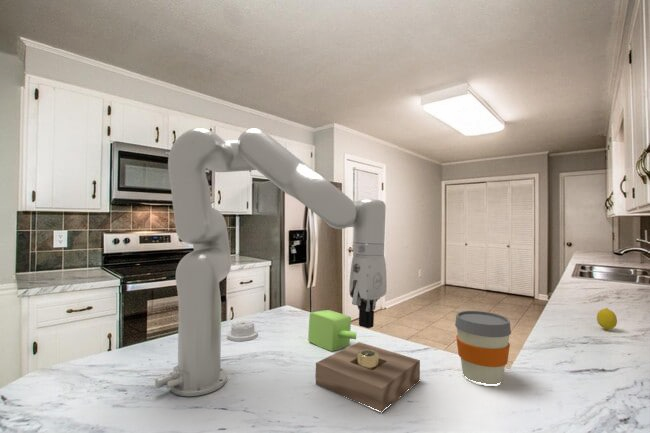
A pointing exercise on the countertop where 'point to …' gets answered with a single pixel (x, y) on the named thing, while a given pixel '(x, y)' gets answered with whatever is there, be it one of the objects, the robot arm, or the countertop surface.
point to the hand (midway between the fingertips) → (366, 326)
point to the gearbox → (330, 329)
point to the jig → (368, 376)
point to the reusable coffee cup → (483, 345)
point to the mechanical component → (242, 331)
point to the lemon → (606, 319)
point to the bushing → (368, 359)
